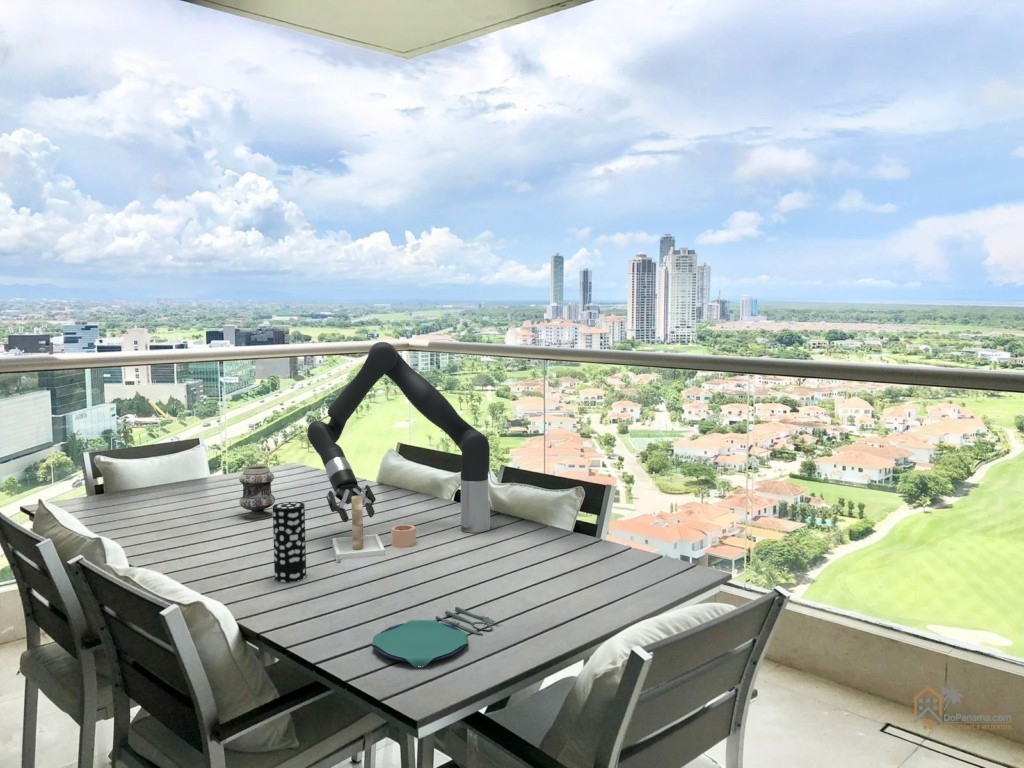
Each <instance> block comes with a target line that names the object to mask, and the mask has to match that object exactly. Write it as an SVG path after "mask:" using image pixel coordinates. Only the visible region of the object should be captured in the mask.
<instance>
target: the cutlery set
mask: <svg viewBox="0 0 1024 768" xmlns="http://www.w3.org/2000/svg"><path fill="white" fill-rule="evenodd" d="M454 611H455V612H459V613H462V614H463V615H466V616H468V617H471V618H474V619H479V620H480V621H474V622H472V621H470V620H469V619H467V618H465V617H463V616H462V615H459V614H456V613H455V612H452V611H449V610H446V611H444V614H445V615H446V616H451V617H453V618H456V619H459V620H462V621H463V622H465V623H469V624H470V625H472V626H473V628H474V629H475V630H474V629H472V628H469V627H466V626H465V625H461V624H460V622H456V621H455V620H454V621H451V620H448V619H445V618H442V617H440V616H439V615H436V616H435V619H434V620H433V619H417V620H416V619H415V620H408V621H406V622H405V623H404V622H403V623H400V624H395V625H393V626H389V627H388V628H385V629H384V630H382V631H380V632H379V633H376V634H375V635H374V636H373V639H372V643H371V647H372V648H375V649H376V651H377V653H379V654H381V655H382V656H384V657H385V658H389V659H393V660H395V661H398V662H408V663H410V665H411V666H413V667H414V668H416V667H418V666H421V667H422V666H425V667H426V666H427V665H428V664H429V663H430V662H434V661H440V660H444V659H446V658H449V657H452V656H454V655H456V654H458V653H459V652H461V651H462V650H464V647H467V646H468V645H469V642H468V638H469V637H468V633H471V634H473V633H474V635H476V634H480V635H479V636H483V635H484V634H483V632H480V631H482V630H485V631H484V632H487V631H491V630H493V624H494V622H496V621H495V620H493V619H492V618H490V617H489V616H485V615H478V614H475V613H472V612H470V611H467V610H465V609H463V608H461V607H460V606H455V608H454ZM437 619H438V620H440V621H444V622H446V623H443V622H439V621H437ZM481 620H483V621H481ZM483 622H485V623H483ZM447 623H448V624H447ZM487 623H489V624H487ZM475 624H484V625H483V626H485V625H487V626H489V627H490V628H491V629H483V628H479V627H477V626H476V625H475ZM490 624H492V625H490ZM474 625H475V626H474ZM487 626H486V627H487ZM489 627H488V628H489ZM478 629H479V630H478ZM465 631H466V632H468V631H469V632H468V633H466V632H465ZM465 645H466V646H465Z"/></svg>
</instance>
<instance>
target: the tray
mask: <svg viewBox="0 0 1024 768" xmlns="http://www.w3.org/2000/svg"><path fill="white" fill-rule="evenodd" d="M331 540H332V545H333V546H332V545H331V546H332V549H334V550H333V553H335V554H334V557H336V558H335V561H336V563H338V564H340V563H339V562H341V563H342V561H341V560H346V559H348V560H349V559H358V558H367V557H369V558H371V557H379V556H381V557H382V556H386V549H385V546H384V544H383V543H382V541H381V538H380V536H379V534H365V535H364V534H363V549H362V550H353V541H352V536H345V537H344V536H342V537H333V538H332V539H331Z"/></svg>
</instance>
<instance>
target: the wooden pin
mask: <svg viewBox="0 0 1024 768" xmlns="http://www.w3.org/2000/svg"><path fill="white" fill-rule="evenodd" d="M363 507H364V506H363V504H362V496H352V503H351V529H352V531H351V533H352V534H351V535H352V536H351V537H352V541H353V550H362V549H363V536H364V517H363V516H364V513H363V511H364V508H363Z"/></svg>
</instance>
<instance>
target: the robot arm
mask: <svg viewBox="0 0 1024 768" xmlns="http://www.w3.org/2000/svg"><path fill="white" fill-rule="evenodd" d="M384 375H385V376H386V377H388V378H389V379H390V380H391V381H392V382H393V383H395V384H396V386H397V387H398V388H399V390H400V391H401V392H402V394H403V395H404V397H405V398H406V399H407V400H408V401H409V402H410V404H411V405H412V406H413V408H415V409H416V410H417V411H418V412H419V413H420V414H421V415H422V416H423V417H424V418H426V419H427V420H428V421H430V422H431V423H432V424H433V425H434V426H436V427H438V428H439V429H441V430H442V431H443V432H444V433H445V434H447V436H448V437H449V438H450V439H451V440H452V441H453V442H454V444H455V445H456V446H457V447H458V448H459V450H460V451H461V469H460V470H461V471H460V530H461V531H462V532H465V533H473V534H474V533H475V534H476V533H483V532H486V531H491V502H490V501H489V471H490V457H491V456H490V454H491V453H490V442H489V440H488V438H487V436H485V434H484V433H482V432H481V431H479V430H477V429H476V428H474V427H473V426H472V425H471V424H470V423H469V422H467V421H466V420H465V419H463V417H461V415H459V413H458V412H457V411H456V409H455V408H454V407H453V405H452V404H451V403H450V402H449V401H448V399H447V398H446V397H445V396H444V395H443V394H442V393H441V392H440V391H439V390H438V389H437V388H436V387H435V386H434V385H432V384H431V383H430V382H429V381H428V380H427V379H426V378H425V377H424V376H422V375H421V374H420V373H418V372H417V371H416V370H415V369H413V368H412V367H411V365H409V364H408V363H407V362H406V361H405V359H404V358H403V357H402V355H400V353H399V351H397V349H396V348H395V347H394V346H393V345H392V344H391V343H389V342H386V341H378V342H376V343H374V344H373V345H372V346H371V347H370V348H369V351H368V353H367V357H366V359H365V361H364V363H363V365H362V366H361V368H360V370H359V371H358V373H357V374H356V375H355V377H354V378H353V379H352V380H351V381H350V382H349V383H348V384H347V385H346V387H344V388H343V390H342V391H341V392H340V393H339V395H338V396H337V397H336V398H335V400H334V401H333V402H332V403H331V405H330V406H329V408H328V409H327V415H328V417H330V419H329V421H328V423H326V422H324V421H322V420H316V421H313V422H311V423H310V424H309V425H308V427H307V430H306V431H307V432H306V433H307V434H306V435H307V438H308V441H309V443H310V445H311V446H312V447H313V449H314V450H315V451H316V453H317V454H318V455H319V457H320V458H321V459H320V460H321V461H322V464H323V466H324V468H325V473H326V475H327V478H328V481H329V482H330V485H331V487H332V489H333V491H332V490H329V491H328V492H327V495H326V499H327V503H328V506H329V509H330V511H331V512H332V513H334V512H337V513H338V514H339V517H340V519H341V520H342V522H344V523H347V522H348V521H349V520H350V518H349V516H348V515H349V514H348V513H347V511H346V508H345V507H344V506H345V504H346V505H350V504H352V496H362V504H363V507H365V510H366V513H367V515H368V517H369V518H373V517H374V516H375V509H374V507H373V505H374V503H375V502H376V500H377V498H376V496H375V495H374V493H373V491H372V489H371V488H370V485H368V484H366V485H365V486H363V487H360V486H359V484H358V480H357V477H356V475H355V473H354V471H353V469H352V466H351V465H350V463H349V461H348V459H347V457H346V455H345V453H344V451H343V448H342V447H341V446H340V445H339V444H338V443H337V442H338V440H340V437H341V436H342V434H343V431H344V429H345V427H346V425H347V424H346V423H347V422H348V420H349V419H350V418H351V416H352V415H353V414H354V412H355V411H356V410H357V409H358V407H359V406H360V404H361V403H362V402H363V400H364V398H366V396H367V394H368V393H369V392H370V390H372V388H373V387H374V386H375V384H376V383H377V382H378V381H380V379H381V378H382V377H384ZM336 499H338V500H339V504H337V501H336Z"/></svg>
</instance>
